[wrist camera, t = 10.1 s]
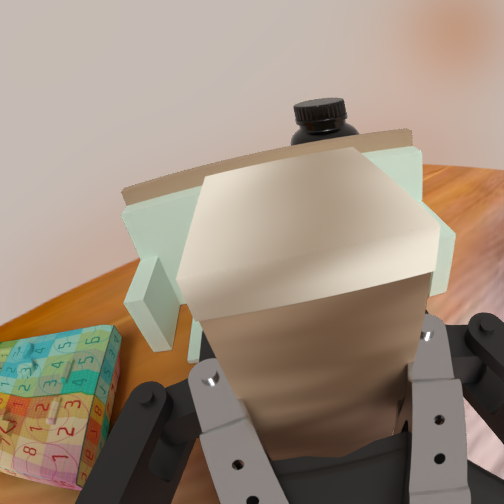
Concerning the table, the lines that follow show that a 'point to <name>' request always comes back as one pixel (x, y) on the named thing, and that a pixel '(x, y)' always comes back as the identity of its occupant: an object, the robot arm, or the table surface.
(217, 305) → the brown wooden block
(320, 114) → the supplement bottle
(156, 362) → the table surface
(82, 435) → the puzzle game
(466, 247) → the table surface
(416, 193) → the mint green shelf
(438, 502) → the robot arm
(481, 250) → the table surface
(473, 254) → the table surface
